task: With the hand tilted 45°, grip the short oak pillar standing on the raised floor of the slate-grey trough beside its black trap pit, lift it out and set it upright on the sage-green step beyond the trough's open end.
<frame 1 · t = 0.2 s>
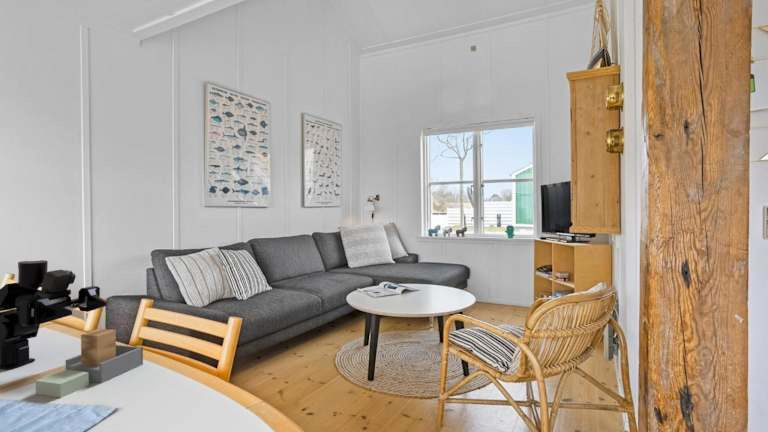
hand: (89, 308, 102), 16 cm above the table, tool horizontal, fingers open, 9 cm apart
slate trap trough: (106, 370, 104), on the table
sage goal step: (62, 389, 93), on the table
oak pillar: (98, 362, 102), point 3 cm above the table, touching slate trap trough
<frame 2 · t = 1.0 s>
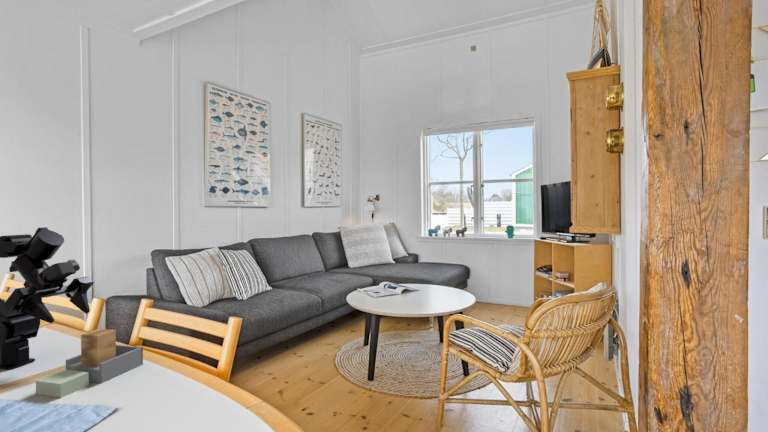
hand: (71, 317, 103), 14 cm above the table, tool tilted 45°, fingers open, 9 cm apart
nothing on the table moved.
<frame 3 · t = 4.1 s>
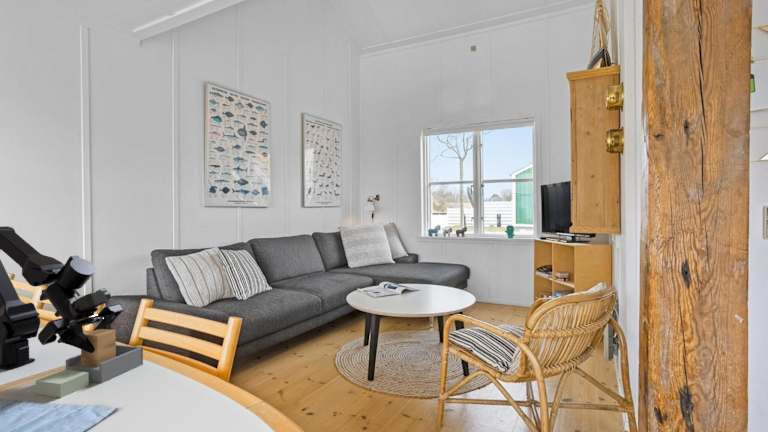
hand: (103, 348, 101), 7 cm above the table, tool tilted 45°, fingers closed on oak pillar, 5 cm apart
oak pillar: (98, 362, 102), point 3 cm above the table, touching gripper, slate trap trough
when the fingers open (8 cm above the table, at t = 7.7 s): oak pillar drops 1 cm, resting on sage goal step.
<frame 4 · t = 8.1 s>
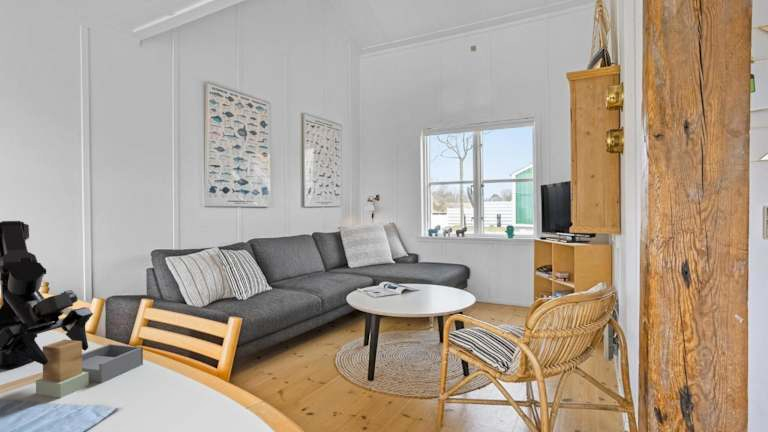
hand: (67, 355, 92), 8 cm above the table, tool tilted 45°, fingers open, 9 cm apart
oak pillar: (62, 376, 93), point 3 cm above the table, touching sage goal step
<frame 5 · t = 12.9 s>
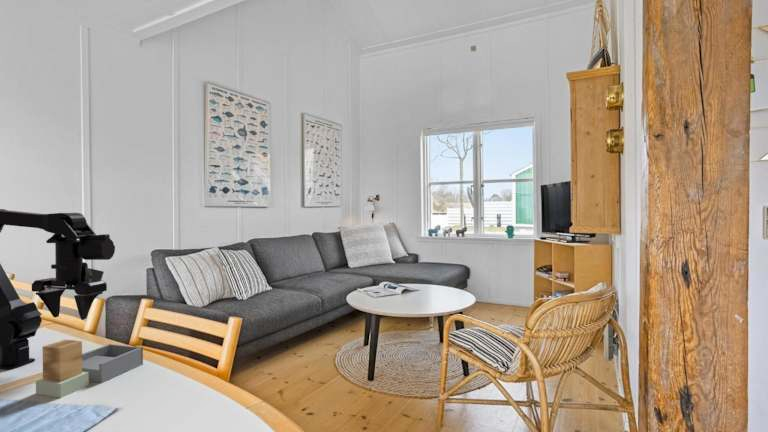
hand: (69, 318, 108), 12 cm above the table, tool pointing down, fingers open, 9 cm apart
nothing on the table moved.
at the end: oak pillar 0.0 cm off-centre on the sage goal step, point 3.0 cm above the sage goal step's base; oak pillar tilted 0°; the gripper is holding nothing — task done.
